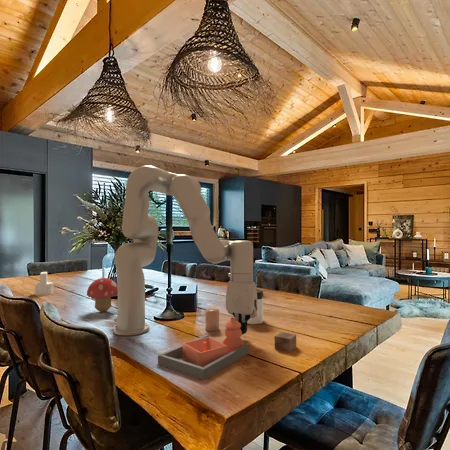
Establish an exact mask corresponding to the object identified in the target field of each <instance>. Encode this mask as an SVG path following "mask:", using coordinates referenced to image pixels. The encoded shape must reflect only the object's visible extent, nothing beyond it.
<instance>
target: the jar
mask: <svg viewBox="0 0 450 450" xmlns="http://www.w3.org/2000/svg"><path fill="white" fill-rule="evenodd" d="M256 291H257V302H258V308H257V311H256V313H257V317H255V318H250V319H249V320H248V321H247V325H248V324H249V325H259V324H263V322H264V291H263V290H261V289H259V288H258V289H256Z"/></svg>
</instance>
